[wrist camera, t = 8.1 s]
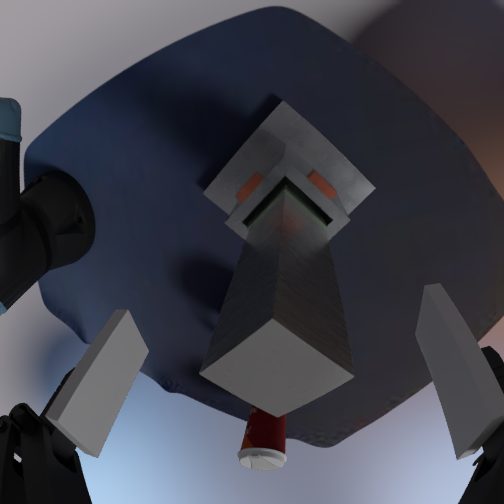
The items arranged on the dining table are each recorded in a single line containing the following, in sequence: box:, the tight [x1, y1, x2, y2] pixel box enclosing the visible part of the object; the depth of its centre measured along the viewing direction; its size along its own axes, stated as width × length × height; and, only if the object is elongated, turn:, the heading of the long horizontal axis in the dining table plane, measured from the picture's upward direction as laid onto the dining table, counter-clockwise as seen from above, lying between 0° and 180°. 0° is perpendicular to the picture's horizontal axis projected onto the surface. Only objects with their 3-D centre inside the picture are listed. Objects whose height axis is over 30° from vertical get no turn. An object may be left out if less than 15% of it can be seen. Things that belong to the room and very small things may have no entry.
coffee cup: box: [238, 405, 287, 470], centre depth 45 cm, size 8×8×15 cm
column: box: [199, 177, 355, 417], centre depth 18 cm, size 4×4×19 cm
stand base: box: [203, 101, 375, 241], centre depth 28 cm, size 14×14×12 cm
